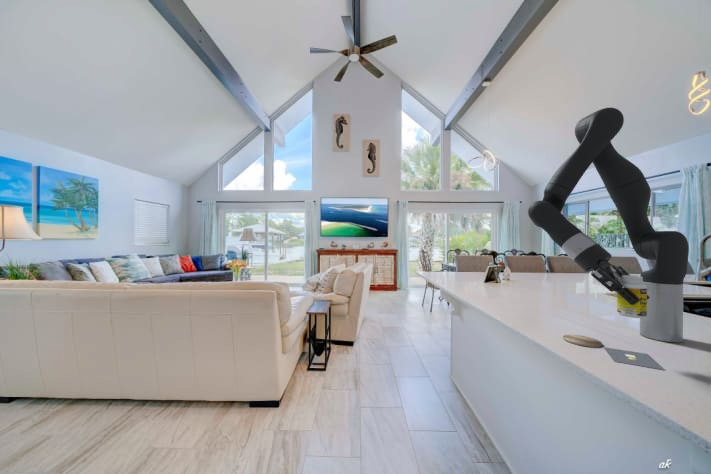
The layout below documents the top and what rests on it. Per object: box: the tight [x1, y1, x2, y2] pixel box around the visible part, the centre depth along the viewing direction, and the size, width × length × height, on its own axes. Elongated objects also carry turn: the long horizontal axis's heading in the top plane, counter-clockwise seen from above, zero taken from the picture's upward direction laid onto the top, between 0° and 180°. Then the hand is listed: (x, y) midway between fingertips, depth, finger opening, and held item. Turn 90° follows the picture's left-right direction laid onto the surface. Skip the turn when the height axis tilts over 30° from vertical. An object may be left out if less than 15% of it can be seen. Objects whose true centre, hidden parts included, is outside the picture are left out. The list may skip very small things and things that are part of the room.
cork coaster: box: [562, 334, 603, 348], centre depth 85 cm, size 9×9×1 cm
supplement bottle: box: [616, 274, 647, 319], centre depth 74 cm, size 6×6×10 cm
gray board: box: [603, 346, 666, 372], centre depth 74 cm, size 11×9×1 cm
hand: (641, 301), depth 72 cm, fingers closed on supplement bottle, 5 cm apart
